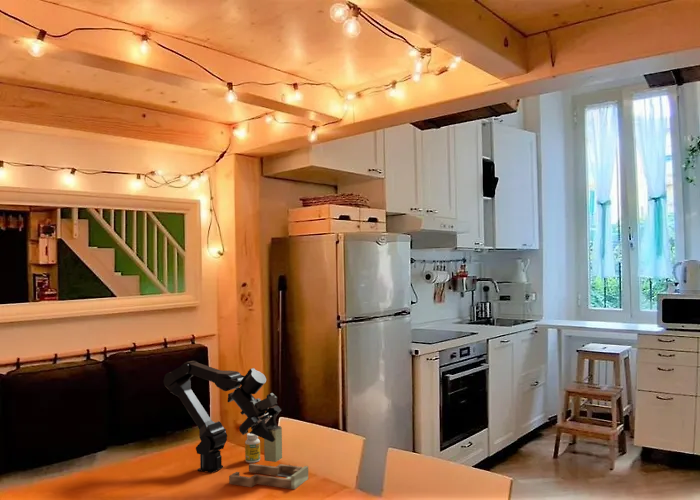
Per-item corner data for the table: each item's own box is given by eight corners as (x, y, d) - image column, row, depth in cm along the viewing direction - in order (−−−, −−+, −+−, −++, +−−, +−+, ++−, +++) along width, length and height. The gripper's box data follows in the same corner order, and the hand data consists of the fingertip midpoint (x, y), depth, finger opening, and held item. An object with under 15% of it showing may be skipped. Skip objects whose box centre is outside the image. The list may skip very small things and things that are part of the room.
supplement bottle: (256, 457, 214) (256, 430, 214) (262, 461, 209) (262, 434, 210) (242, 460, 211) (242, 433, 211) (248, 464, 206) (248, 436, 207)
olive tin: (264, 460, 189) (264, 428, 190) (270, 456, 193) (270, 425, 194) (275, 462, 188) (275, 429, 188) (282, 458, 192) (281, 426, 192)
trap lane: (229, 483, 188) (229, 471, 188) (254, 467, 202) (254, 456, 202) (290, 492, 179) (290, 479, 179) (312, 475, 194) (312, 463, 194)
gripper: (246, 392, 184) (278, 430, 180) (275, 381, 202) (304, 416, 197) (226, 415, 187) (256, 453, 182) (256, 403, 204) (284, 437, 200)
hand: (276, 439), depth 190 cm, fingers closed on olive tin, 4 cm apart
